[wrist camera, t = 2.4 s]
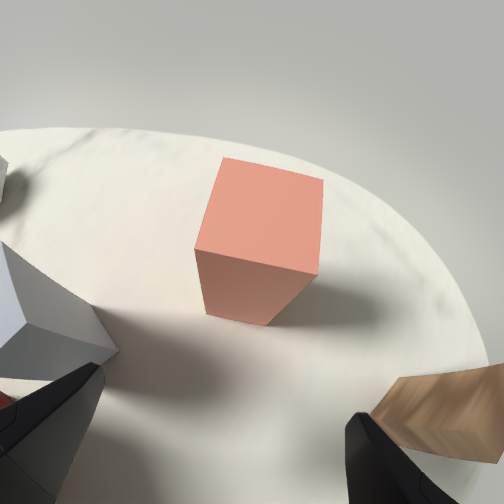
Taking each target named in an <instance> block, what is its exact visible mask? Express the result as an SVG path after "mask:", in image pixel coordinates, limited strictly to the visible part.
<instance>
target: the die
mask: <svg viewBox="0 0 504 504" xmlns="http://www.w3.org/2000/svg"><path fill="white" fill-rule="evenodd" d="M7 167H8V162H7V161H6V160H4V159H3V158H2V157H1V156H0V203H1V202H2V195H3V189H4V183H5V177H6V172H7Z"/></svg>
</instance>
